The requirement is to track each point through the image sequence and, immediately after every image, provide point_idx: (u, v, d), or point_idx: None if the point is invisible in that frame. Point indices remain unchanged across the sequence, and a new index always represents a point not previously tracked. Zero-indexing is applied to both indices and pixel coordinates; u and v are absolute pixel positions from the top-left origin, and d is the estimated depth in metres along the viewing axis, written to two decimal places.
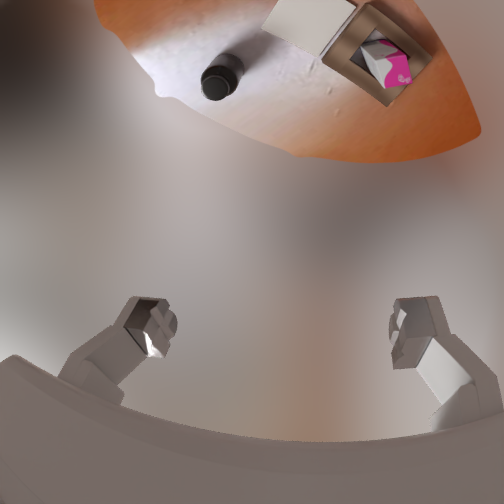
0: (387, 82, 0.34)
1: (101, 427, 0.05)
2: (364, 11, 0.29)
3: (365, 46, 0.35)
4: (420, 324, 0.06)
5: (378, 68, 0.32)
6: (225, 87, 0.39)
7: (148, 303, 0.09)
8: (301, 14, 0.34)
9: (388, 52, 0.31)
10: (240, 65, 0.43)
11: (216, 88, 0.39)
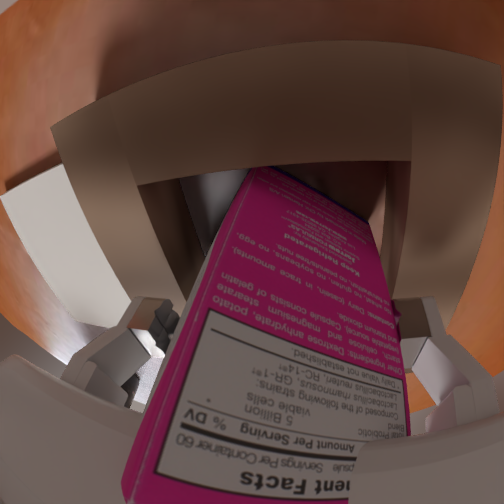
0: None
1: (101, 427, 0.05)
2: (66, 166, 0.09)
3: None
4: (416, 324, 0.07)
5: None
6: None
7: (152, 303, 0.09)
8: (66, 270, 0.17)
9: (151, 394, 0.05)
10: None
11: None
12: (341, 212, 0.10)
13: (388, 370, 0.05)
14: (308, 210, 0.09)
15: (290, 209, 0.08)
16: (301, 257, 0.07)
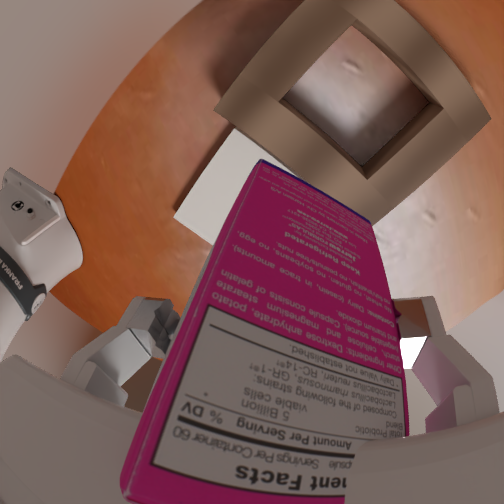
0: None
1: (101, 427, 0.05)
2: (234, 122, 0.19)
3: None
4: (415, 324, 0.07)
5: None
6: None
7: (152, 303, 0.09)
8: None
9: None
10: None
11: None
12: (343, 211, 0.10)
13: (387, 368, 0.06)
14: (309, 209, 0.09)
15: (291, 208, 0.09)
16: (301, 255, 0.07)
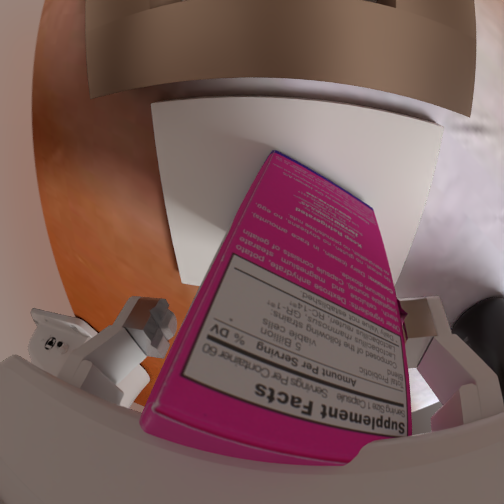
0: None
1: (101, 427, 0.05)
2: (121, 88, 0.09)
3: None
4: (421, 324, 0.06)
5: None
6: None
7: (147, 303, 0.09)
8: None
9: (175, 339, 0.06)
10: (482, 332, 0.14)
11: None
12: (347, 197, 0.11)
13: (387, 325, 0.06)
14: (317, 192, 0.10)
15: (301, 190, 0.10)
16: (309, 226, 0.08)
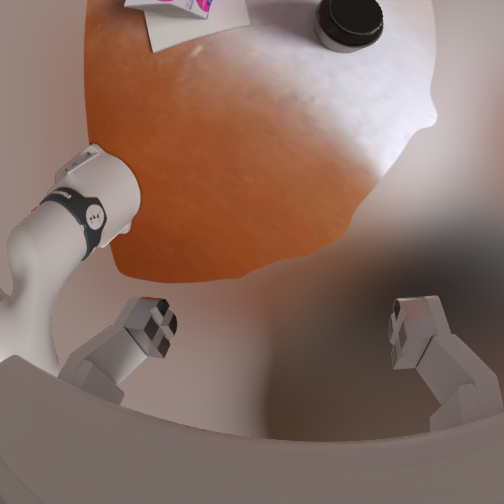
0: None
1: (101, 427, 0.05)
2: None
3: None
4: (420, 324, 0.06)
5: (136, 4, 0.16)
6: None
7: (148, 303, 0.09)
8: None
9: None
10: None
11: (353, 8, 0.15)
12: None
13: None
14: None
15: None
16: None
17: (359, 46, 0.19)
